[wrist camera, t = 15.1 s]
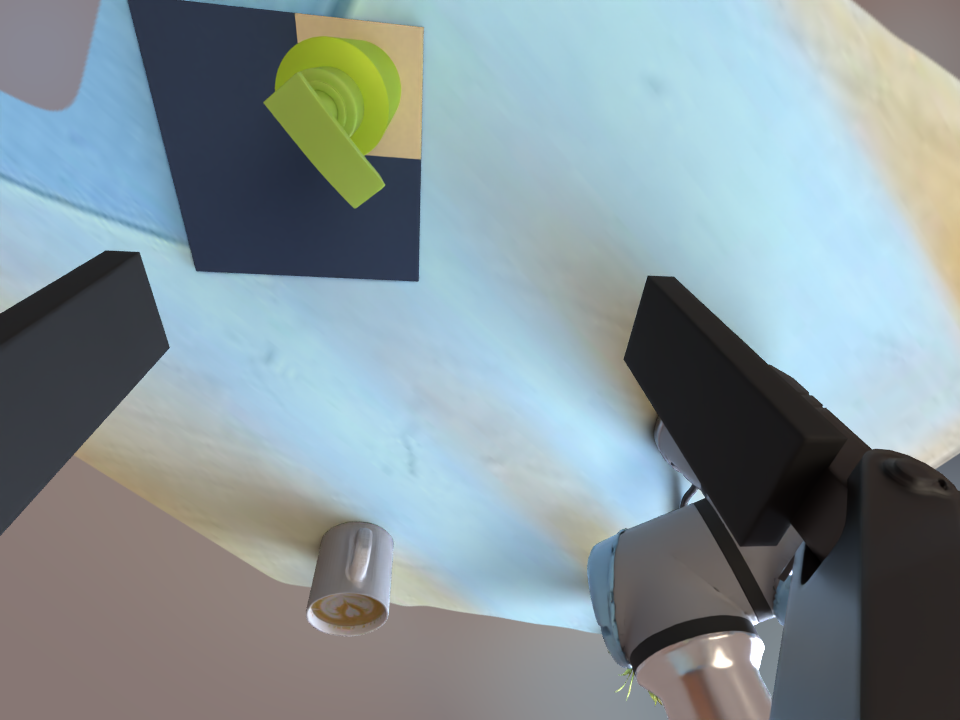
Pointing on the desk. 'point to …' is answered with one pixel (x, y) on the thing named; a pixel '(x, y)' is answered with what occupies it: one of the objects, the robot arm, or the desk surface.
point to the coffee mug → (352, 580)
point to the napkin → (275, 145)
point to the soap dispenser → (337, 108)
